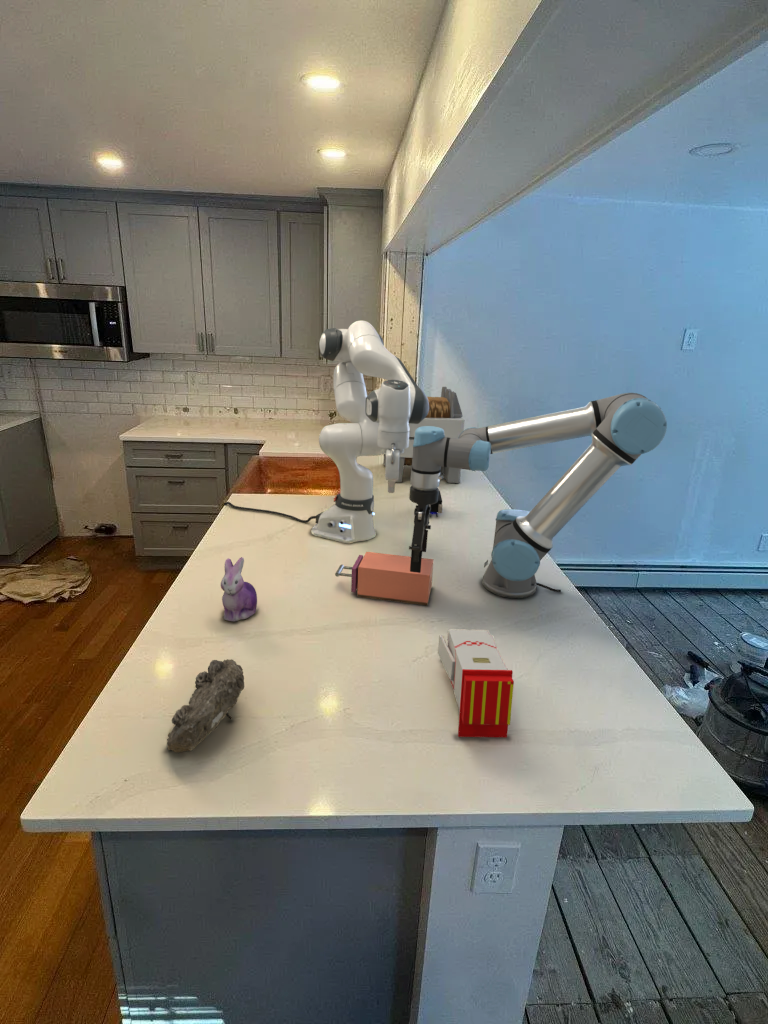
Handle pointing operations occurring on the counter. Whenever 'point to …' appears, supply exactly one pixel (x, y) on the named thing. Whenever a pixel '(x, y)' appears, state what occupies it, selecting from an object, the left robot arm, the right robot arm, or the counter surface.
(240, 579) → the figurine
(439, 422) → the transformer
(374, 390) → the left robot arm
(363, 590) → the cabinet
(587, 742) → the counter surface
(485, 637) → the toy
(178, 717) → the fossil
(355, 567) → the drawer
